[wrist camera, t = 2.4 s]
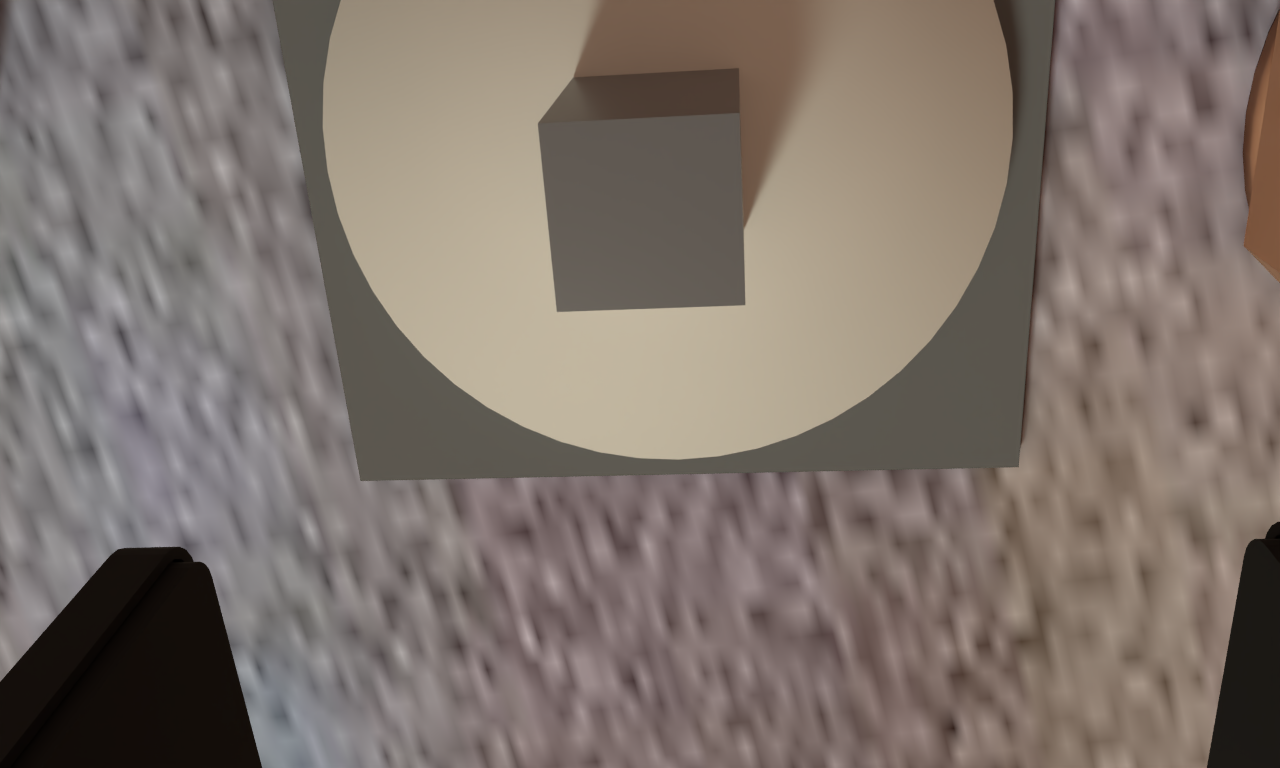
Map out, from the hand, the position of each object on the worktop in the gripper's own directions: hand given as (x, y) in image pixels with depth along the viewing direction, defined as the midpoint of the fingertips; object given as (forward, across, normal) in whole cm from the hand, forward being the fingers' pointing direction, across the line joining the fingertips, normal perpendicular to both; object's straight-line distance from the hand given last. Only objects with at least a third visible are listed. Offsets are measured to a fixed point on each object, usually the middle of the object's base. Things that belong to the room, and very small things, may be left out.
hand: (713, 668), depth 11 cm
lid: (+21, +2, 0) cm, 21 cm away
